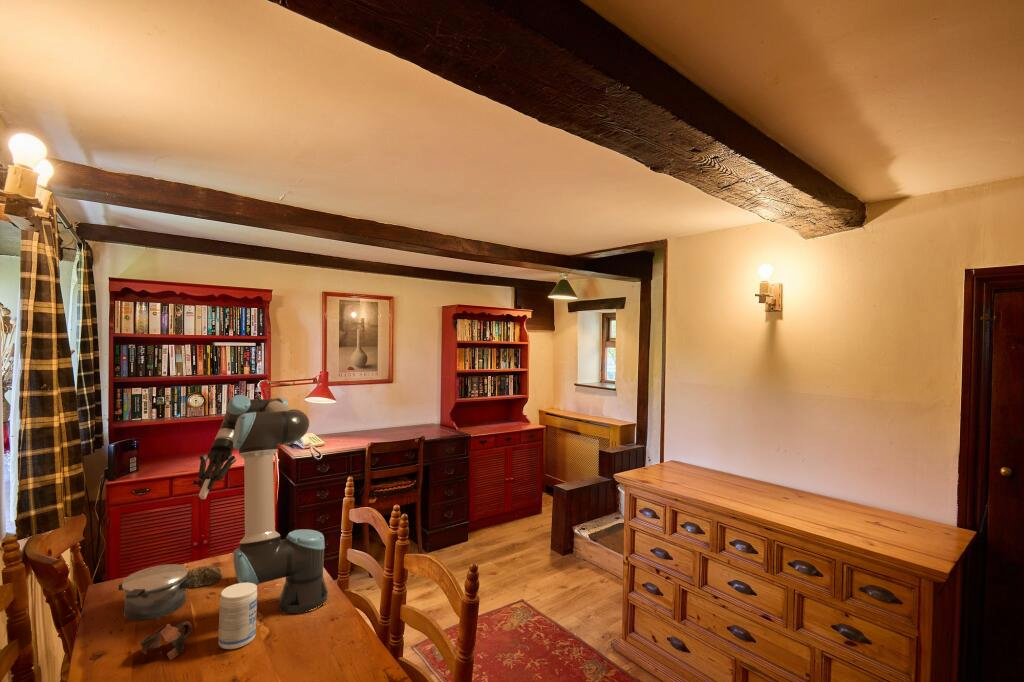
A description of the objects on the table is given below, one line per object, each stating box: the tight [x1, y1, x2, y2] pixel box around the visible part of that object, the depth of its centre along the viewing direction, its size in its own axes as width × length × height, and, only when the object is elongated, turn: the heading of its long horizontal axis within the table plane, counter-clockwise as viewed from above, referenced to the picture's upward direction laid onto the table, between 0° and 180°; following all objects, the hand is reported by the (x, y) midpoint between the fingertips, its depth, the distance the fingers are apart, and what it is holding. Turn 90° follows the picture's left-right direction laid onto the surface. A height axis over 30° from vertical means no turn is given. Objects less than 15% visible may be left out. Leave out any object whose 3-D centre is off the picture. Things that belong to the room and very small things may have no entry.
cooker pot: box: [117, 578, 194, 622], centre depth 156 cm, size 17×21×9 cm
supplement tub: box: [217, 582, 258, 650], centre depth 139 cm, size 10×10×15 cm
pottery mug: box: [139, 620, 193, 661], centre depth 134 cm, size 12×10×8 cm
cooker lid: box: [121, 563, 189, 599], centre depth 154 cm, size 20×17×1 cm
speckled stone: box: [186, 565, 223, 589], centre depth 175 cm, size 13×12×5 cm
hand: (202, 497), depth 175 cm, fingers closed
